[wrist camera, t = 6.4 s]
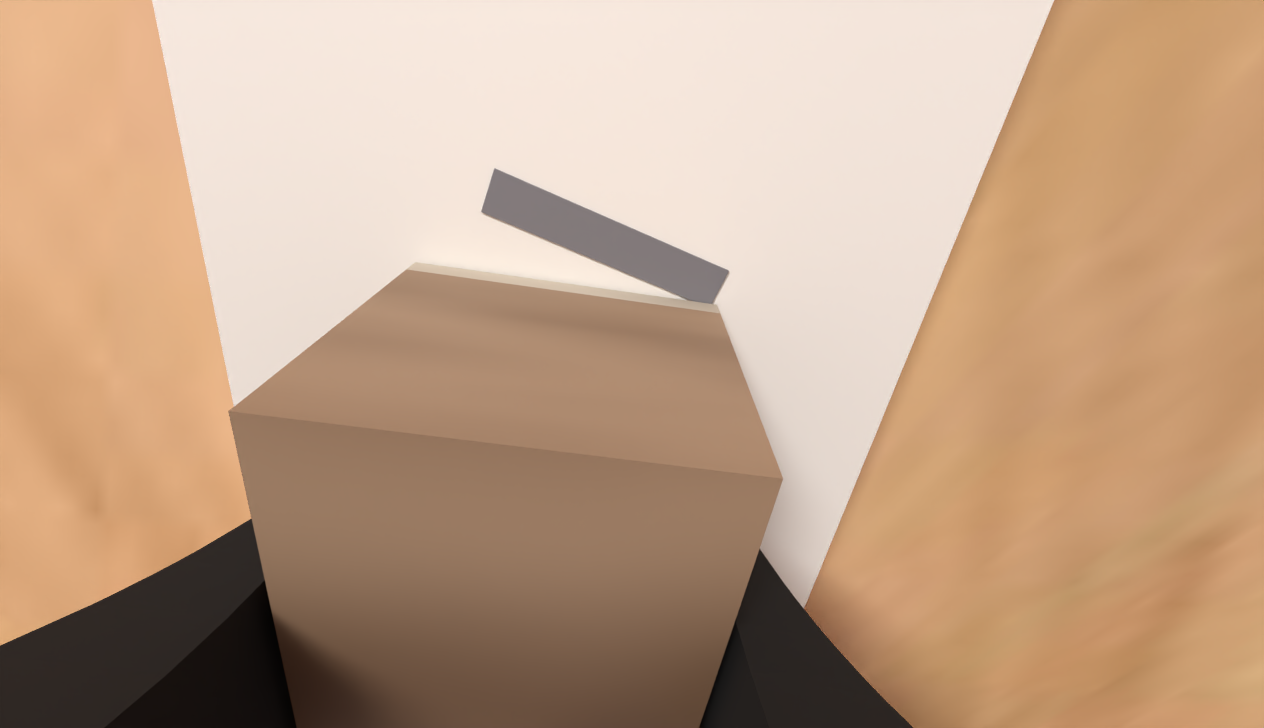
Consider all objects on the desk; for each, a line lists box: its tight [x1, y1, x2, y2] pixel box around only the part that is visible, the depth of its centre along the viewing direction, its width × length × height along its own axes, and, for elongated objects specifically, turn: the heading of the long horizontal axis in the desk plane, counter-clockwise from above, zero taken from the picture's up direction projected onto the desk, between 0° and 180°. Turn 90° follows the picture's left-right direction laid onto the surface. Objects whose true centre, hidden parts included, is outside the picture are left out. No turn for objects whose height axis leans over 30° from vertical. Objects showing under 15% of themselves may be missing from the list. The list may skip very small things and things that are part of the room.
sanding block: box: [229, 262, 783, 728], centre depth 9 cm, size 8×5×5 cm, turn 172°
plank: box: [152, 0, 1054, 608], centre depth 10 cm, size 26×12×1 cm, turn 172°
